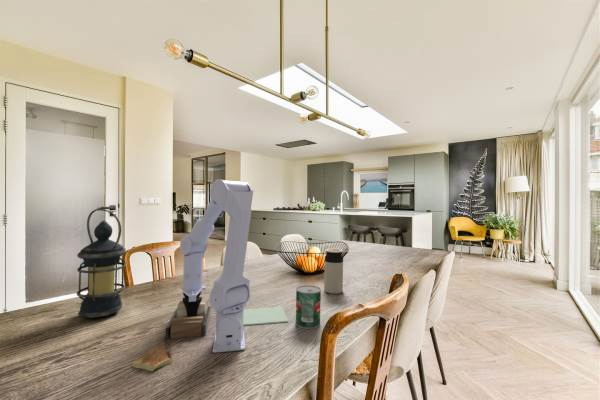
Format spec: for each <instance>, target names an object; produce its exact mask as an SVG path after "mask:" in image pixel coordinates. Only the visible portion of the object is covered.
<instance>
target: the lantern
mask: <svg viewBox="0 0 600 400" xmlns="http://www.w3.org/2000/svg"><path fill="white" fill-rule="evenodd" d="M96 211H102V212H103V211H104V212H107V213H109V214H111V216H113V217H114V218H115V220H116V222H117V225H118V235H117V239H116V241H114V240H111V239H110V238H111V236H112V234H113V228H112V225H110V223H108V222H107V221H106V220H101V221H100V222H99V223H98V224H97V225H96V227H95V228H94V231H93V232H94V233H93V234H94V237H95V238H96V239H97V240H95V241H94V240H93V237H92V234H91V228H90V220H91V218H92V215H93V214H94V213H95V212H96ZM86 219H87V220H86V229H87V235H88V238H89V240H90V243H89V244H88V245H86V246H84V247H83V248H82V249H80V251H79V252H78V253H77V258H79V259H80V260H81V259H82V260H83V261H82V262H81V263H80V265H79V267H77V272H78V291H76V296H77V297H78V298H79V299H80V300H82V301H81V303H80V305H81V306H80V307H79V311H78V313H77V315H78V316H79V317H83V318H89V319H95V318H102V317H107V316H110V315H112V314H115V313H116V312H119V311H121V309H122V308H123V301H122V298H121V292H122V291H124V290H125V289H126V285H125V284H124V274H125V273H124V272H125V270H124V269H125V267H126V266H127V264H126V263H125V262H124V259H123V258H122V257H123V256H124V255H125V253H126V248H124V245H123V244H121V243H120V244H119V241H120V239H121V235H122V225H121V221H120V220H119V217H118V216H117V215H116V214H115V213H113V212H112V211H110V210H108V209H103V208H96V209H94V210H92V211H91V212H90V213H89V214H88V216H87V218H86ZM120 261H121V262H120ZM118 265H120V266H118ZM85 268H87V269H88V270H83V269H85ZM119 270H121V283H118V271H119ZM82 274H87V286H86V287H83V288H82V287H81V286H82V284H81V283H82V282H81V281H82ZM117 287H121V288H119V289H117ZM86 290H87V293H86V294H81V293H82V292H83V291H86Z"/></svg>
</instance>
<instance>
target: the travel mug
mask: <svg viewBox="0 0 600 400" xmlns="http://www.w3.org/2000/svg"><path fill="white" fill-rule="evenodd" d="M343 251H344V250H343V249H341V248H340V249H339V248H326V249H325V253H326V254H325V256H324V282H323V283H324V285H323V291H324V292H325V293H328V294H331V295H338V294H341V293H342V292H343V288H344V287H343V282H344V279H343V278H344V256H343Z"/></svg>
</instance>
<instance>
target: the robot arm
mask: <svg viewBox="0 0 600 400" xmlns="http://www.w3.org/2000/svg"><path fill="white" fill-rule="evenodd" d="M253 195H254V190H253V188H252V186H251V185H250V184H249V183H248V182H247V181H236V180H226V179H221V178H217V179H216V180H214V182H213V183H212V185H211V188H210V190H209V196H210V201H209V203H208V205H207V208H206V210H205V211H204V214H203V216H202V218H198V219H197V220H196V221H195V222H194V223H195V224H194V225H193V226H192V228H191V230H190V232H189V233H188V234H186V235H185V236H182V237H181V240H180V242H179V249H180V252H181V254H182V256H183V263H182V264H183V268H182V269H183V270H182V287H181V288H182V289H181V291H182V295H183V297H182V300H181V301H183V303H184V305H185V308H186V311H187V317H196V316H197V311H198V307H199V305H200V303H201V301H202V300H203V297H202V296H201V294H202V292H203V291H204V290H205V291H206V289H207V286H206V285H203V267H204V266H203V265H204V264H203V263H204V261H203V259H205V257H206V255H205V254H206V251H207V249H208V244H207V242H208V240H209V238H210V237H211V235H212V234H213V232H214V231H215V224H214V223H215V222H216V220H217V219H218V218H219V216H220V215H221V214H222V212H223V211H224V212H225V213H227V215H228V216H229V221H228V222H229V223H228V228H227V236H226V237H227V238H226V244H225V252H224V259H223V267H222V273H221V274H220V275H219V276H218V277H217V278H216V279H215V280H214V281H213V286H212V289H211V291H210V294H209V303H210V307H211V308H212V309H213V310H214V312H216V313H215V314H216V317H215V318H216V321H215V325H216V326H215V334H214V341H213V347H212V353H224V352H225V353H226V352H235V351H243V350H245V349H246V344H245V343H246V342H245V341H246V339H245V331H244V326H243V314H244V309H245V308H246V306H247V302H248V301H249V300H250V299H251V289H250V288H251V287H250V282H251V280H250V279H249V278H248V276H246V275H245V274H244V270H245V262H246V255H247V248H248V247H247V246H248V240H249V231H250V225H251V219H252V218H251V217H252V203H253Z"/></svg>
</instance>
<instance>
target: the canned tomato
mask: <svg viewBox="0 0 600 400" xmlns="http://www.w3.org/2000/svg"><path fill="white" fill-rule="evenodd" d="M295 290H296V291H295V293H296V294H295V325H296V326H297V327H298V328H301V329H305V330H313V329H316V328H319V326H320V325H321V305H322V304H321V302H322V301H321V299H322V298H321V296H322V289H321V287H319V286H316V285H309V284H308V285H307V284H306V285H305V284H304V285H299V286H297V287H296V289H295Z"/></svg>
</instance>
